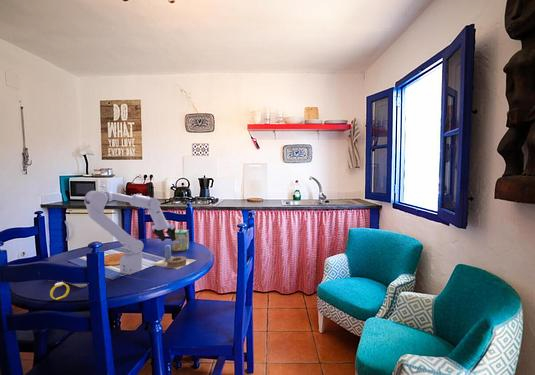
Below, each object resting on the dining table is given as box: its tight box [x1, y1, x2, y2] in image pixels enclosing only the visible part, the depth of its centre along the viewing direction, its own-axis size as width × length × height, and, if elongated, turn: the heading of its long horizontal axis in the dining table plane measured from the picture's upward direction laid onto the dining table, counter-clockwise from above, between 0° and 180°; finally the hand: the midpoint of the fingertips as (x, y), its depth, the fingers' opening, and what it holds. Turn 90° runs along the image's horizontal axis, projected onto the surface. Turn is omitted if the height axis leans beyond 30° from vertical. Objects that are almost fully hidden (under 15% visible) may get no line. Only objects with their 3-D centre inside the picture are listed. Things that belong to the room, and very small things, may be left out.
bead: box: [167, 255, 187, 267], centre depth 138 cm, size 9×9×2 cm
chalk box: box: [170, 225, 190, 252], centre depth 166 cm, size 9×9×15 cm
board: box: [150, 255, 197, 270], centre depth 141 cm, size 14×18×1 cm
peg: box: [164, 244, 172, 262], centre depth 143 cm, size 3×3×8 cm
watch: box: [49, 281, 70, 301], centre depth 104 cm, size 6×3×6 cm, turn 152°
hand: (169, 240), depth 145 cm, fingers open, 7 cm apart
